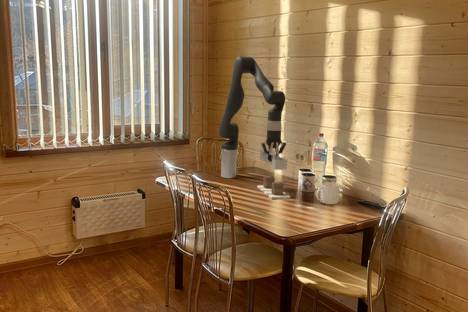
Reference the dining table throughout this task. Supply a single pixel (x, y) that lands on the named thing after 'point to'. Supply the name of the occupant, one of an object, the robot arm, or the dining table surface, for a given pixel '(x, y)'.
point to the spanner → (274, 160)
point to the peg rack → (273, 188)
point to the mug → (328, 193)
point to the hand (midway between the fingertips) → (272, 161)
